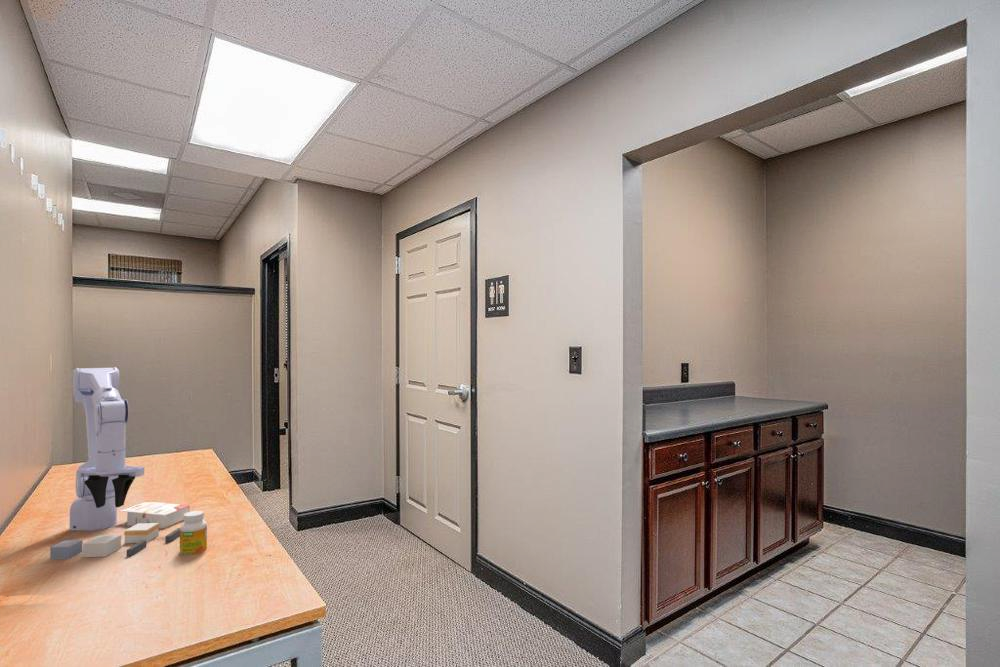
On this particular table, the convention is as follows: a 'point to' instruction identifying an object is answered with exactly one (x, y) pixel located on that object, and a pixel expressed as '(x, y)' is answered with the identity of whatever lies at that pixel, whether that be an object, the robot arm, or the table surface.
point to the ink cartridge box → (156, 513)
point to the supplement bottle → (193, 533)
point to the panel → (142, 544)
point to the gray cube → (66, 549)
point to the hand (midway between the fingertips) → (110, 506)
